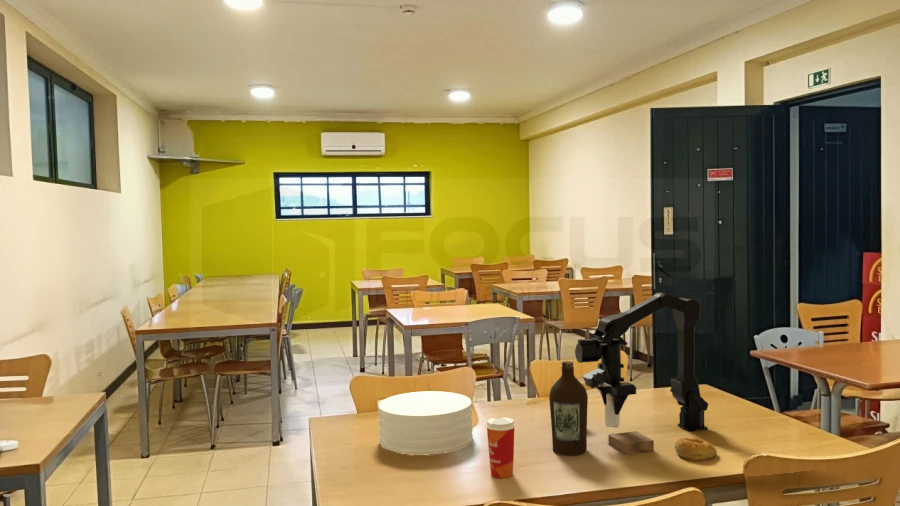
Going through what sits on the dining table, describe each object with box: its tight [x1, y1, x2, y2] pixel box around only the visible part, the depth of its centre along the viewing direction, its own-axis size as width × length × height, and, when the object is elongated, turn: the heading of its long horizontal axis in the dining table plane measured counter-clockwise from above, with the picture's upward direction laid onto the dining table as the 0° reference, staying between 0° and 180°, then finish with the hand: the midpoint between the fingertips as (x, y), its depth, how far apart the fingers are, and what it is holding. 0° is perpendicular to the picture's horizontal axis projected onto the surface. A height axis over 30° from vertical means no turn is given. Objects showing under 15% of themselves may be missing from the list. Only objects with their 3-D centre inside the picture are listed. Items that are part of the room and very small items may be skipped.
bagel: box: [674, 436, 717, 461], centre depth 182 cm, size 10×11×5 cm
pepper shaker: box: [604, 394, 621, 428], centre depth 201 cm, size 4×4×10 cm
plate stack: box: [377, 390, 474, 455], centre depth 202 cm, size 28×28×12 cm
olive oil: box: [548, 360, 589, 457], centre depth 189 cm, size 11×11×25 cm
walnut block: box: [608, 430, 655, 456], centre depth 190 cm, size 9×9×3 cm
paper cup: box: [485, 416, 516, 480], centre depth 172 cm, size 8×8×14 cm
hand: (612, 412), depth 201 cm, fingers closed on pepper shaker, 5 cm apart
